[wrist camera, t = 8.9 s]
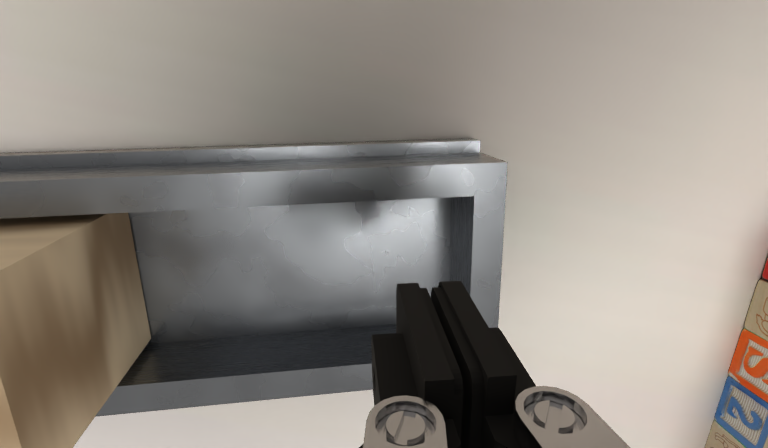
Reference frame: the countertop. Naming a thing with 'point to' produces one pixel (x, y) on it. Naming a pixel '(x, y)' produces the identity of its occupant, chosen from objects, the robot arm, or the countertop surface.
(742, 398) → the stack of blocks
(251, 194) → the chute
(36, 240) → the block
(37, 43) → the countertop surface
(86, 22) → the countertop surface
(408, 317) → the robot arm
